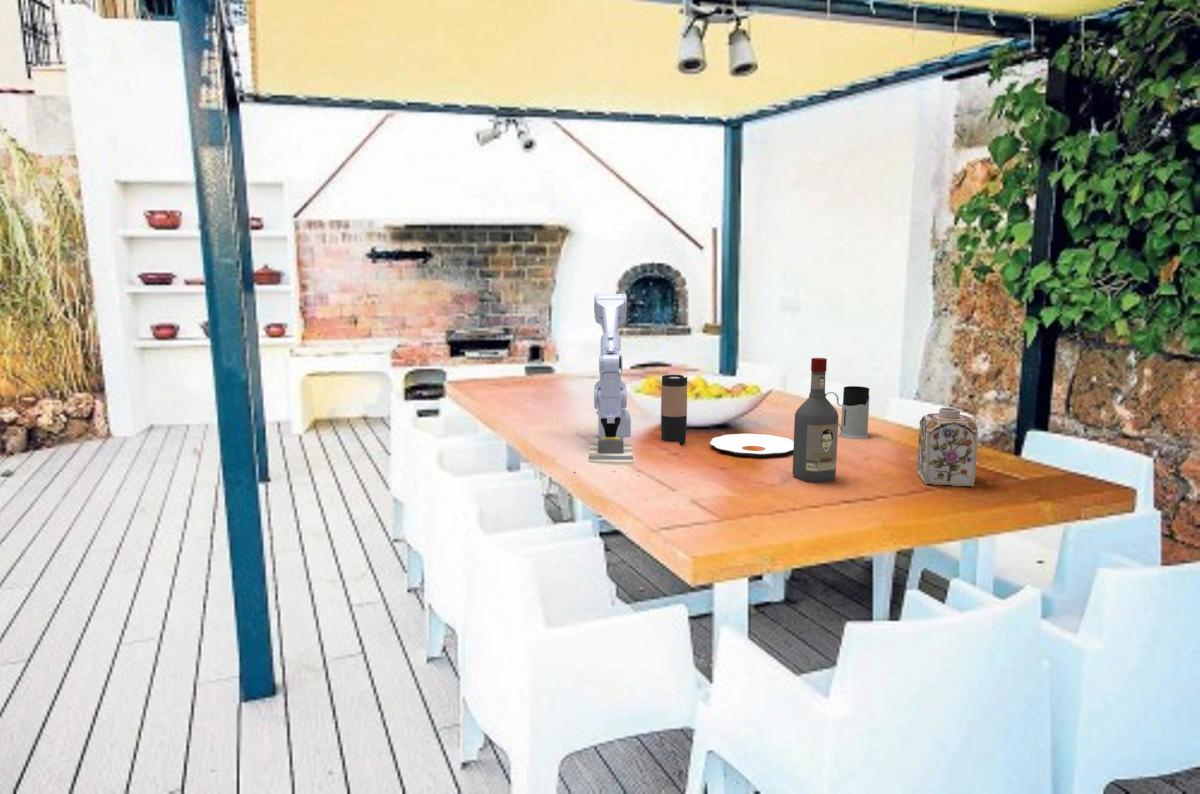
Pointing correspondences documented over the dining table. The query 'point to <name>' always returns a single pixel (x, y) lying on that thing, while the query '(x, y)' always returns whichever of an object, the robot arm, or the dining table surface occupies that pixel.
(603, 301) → the robot arm
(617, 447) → the block
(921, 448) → the decorative jar
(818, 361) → the liquor
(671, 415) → the travel mug
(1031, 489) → the dining table surface
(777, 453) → the plate
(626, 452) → the subfloor plank
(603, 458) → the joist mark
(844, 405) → the glass holder
